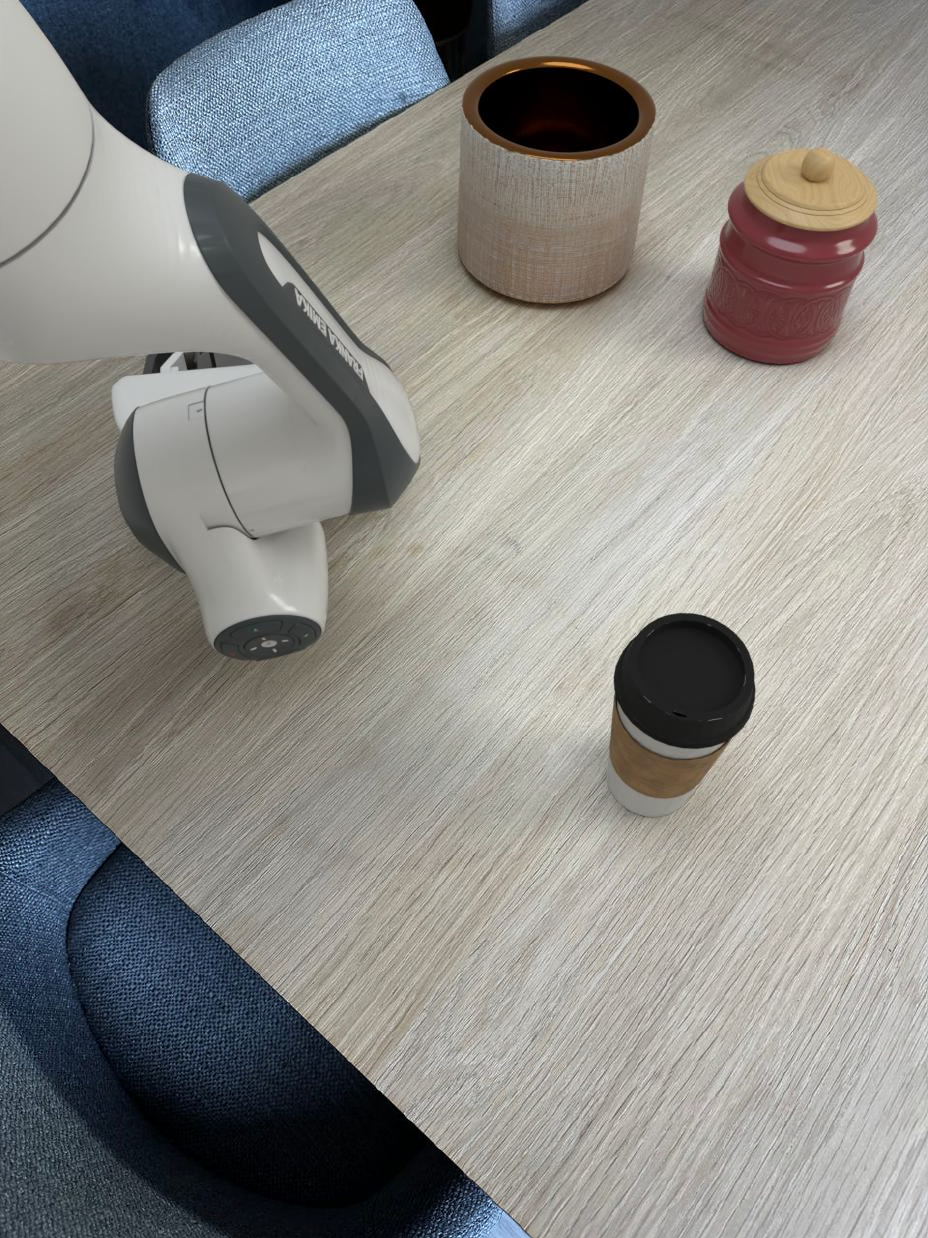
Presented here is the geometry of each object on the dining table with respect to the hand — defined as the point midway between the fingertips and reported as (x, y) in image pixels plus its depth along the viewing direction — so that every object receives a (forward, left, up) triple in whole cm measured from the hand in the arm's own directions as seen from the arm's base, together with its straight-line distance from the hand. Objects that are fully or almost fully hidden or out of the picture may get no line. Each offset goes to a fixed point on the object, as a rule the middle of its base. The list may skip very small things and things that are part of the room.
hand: (245, 340), depth 84 cm
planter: (+32, +15, -9) cm, 37 cm away
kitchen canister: (+49, -1, -9) cm, 50 cm away
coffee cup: (+18, -42, -9) cm, 47 cm away
